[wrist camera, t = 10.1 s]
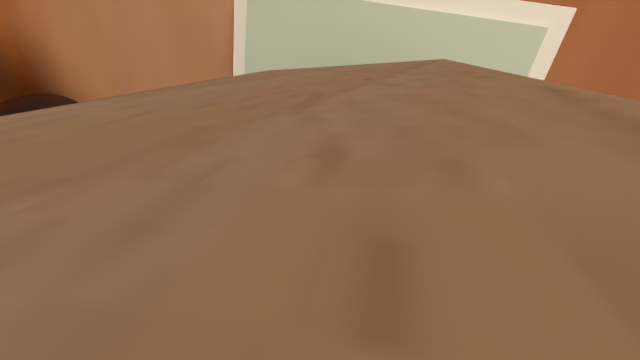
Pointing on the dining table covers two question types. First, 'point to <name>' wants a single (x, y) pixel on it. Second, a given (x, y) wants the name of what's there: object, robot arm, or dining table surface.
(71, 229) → the wooden block
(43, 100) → the robot arm
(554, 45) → the picture frame
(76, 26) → the dining table surface
